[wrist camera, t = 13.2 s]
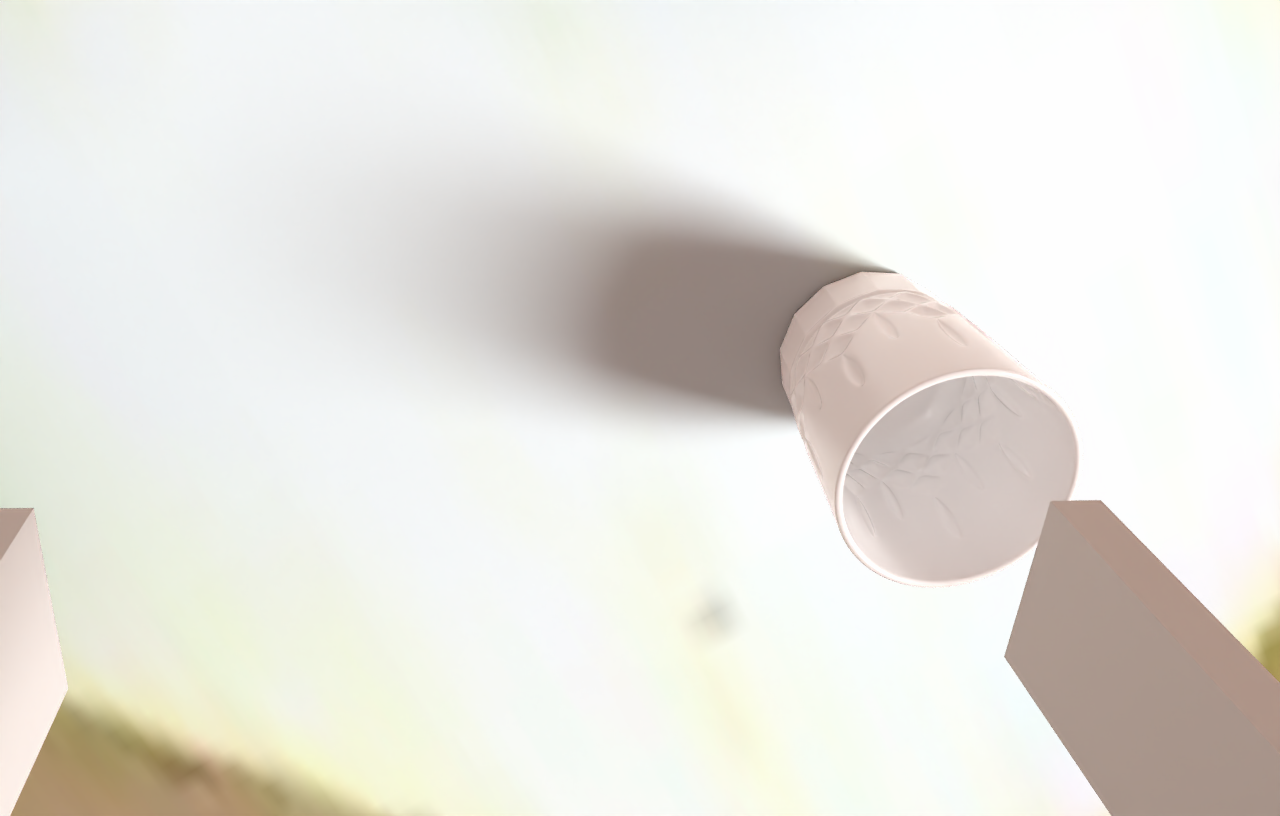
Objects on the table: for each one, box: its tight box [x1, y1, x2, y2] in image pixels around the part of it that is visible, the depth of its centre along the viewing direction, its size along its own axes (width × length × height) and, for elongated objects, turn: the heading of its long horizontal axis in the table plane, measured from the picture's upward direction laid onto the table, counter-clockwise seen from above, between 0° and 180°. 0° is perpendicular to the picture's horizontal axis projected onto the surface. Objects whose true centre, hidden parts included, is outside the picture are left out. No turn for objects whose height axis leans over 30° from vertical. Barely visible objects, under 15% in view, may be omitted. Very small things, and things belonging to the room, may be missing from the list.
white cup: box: [780, 272, 1083, 588], centre depth 38 cm, size 8×8×10 cm
